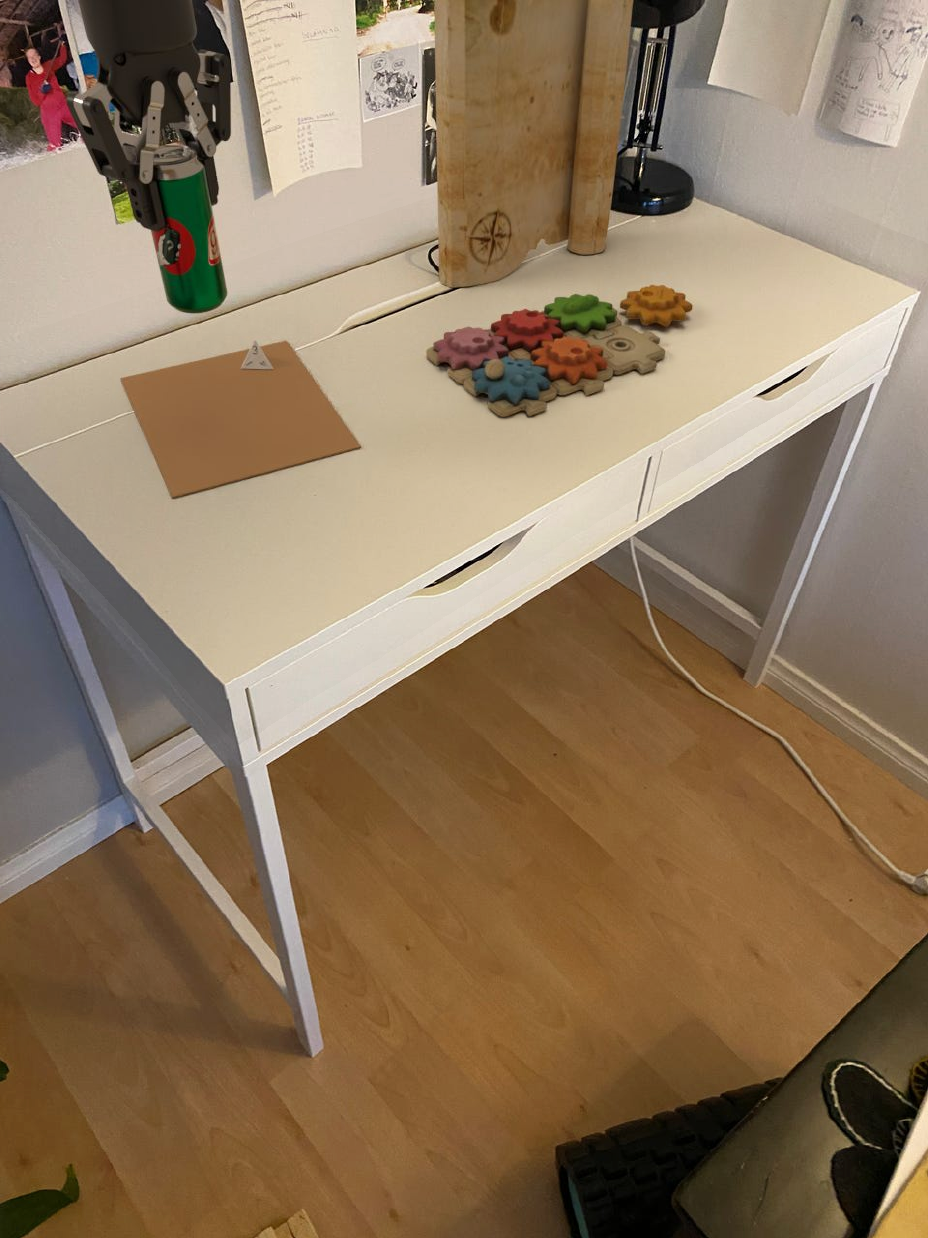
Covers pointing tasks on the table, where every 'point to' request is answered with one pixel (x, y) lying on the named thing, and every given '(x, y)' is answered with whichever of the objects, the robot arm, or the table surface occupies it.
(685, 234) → the table surface
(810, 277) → the table surface
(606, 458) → the table surface
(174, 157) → the soda can
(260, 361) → the tetrahedral die
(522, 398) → the gear puzzle
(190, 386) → the kraft paper
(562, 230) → the parchment
